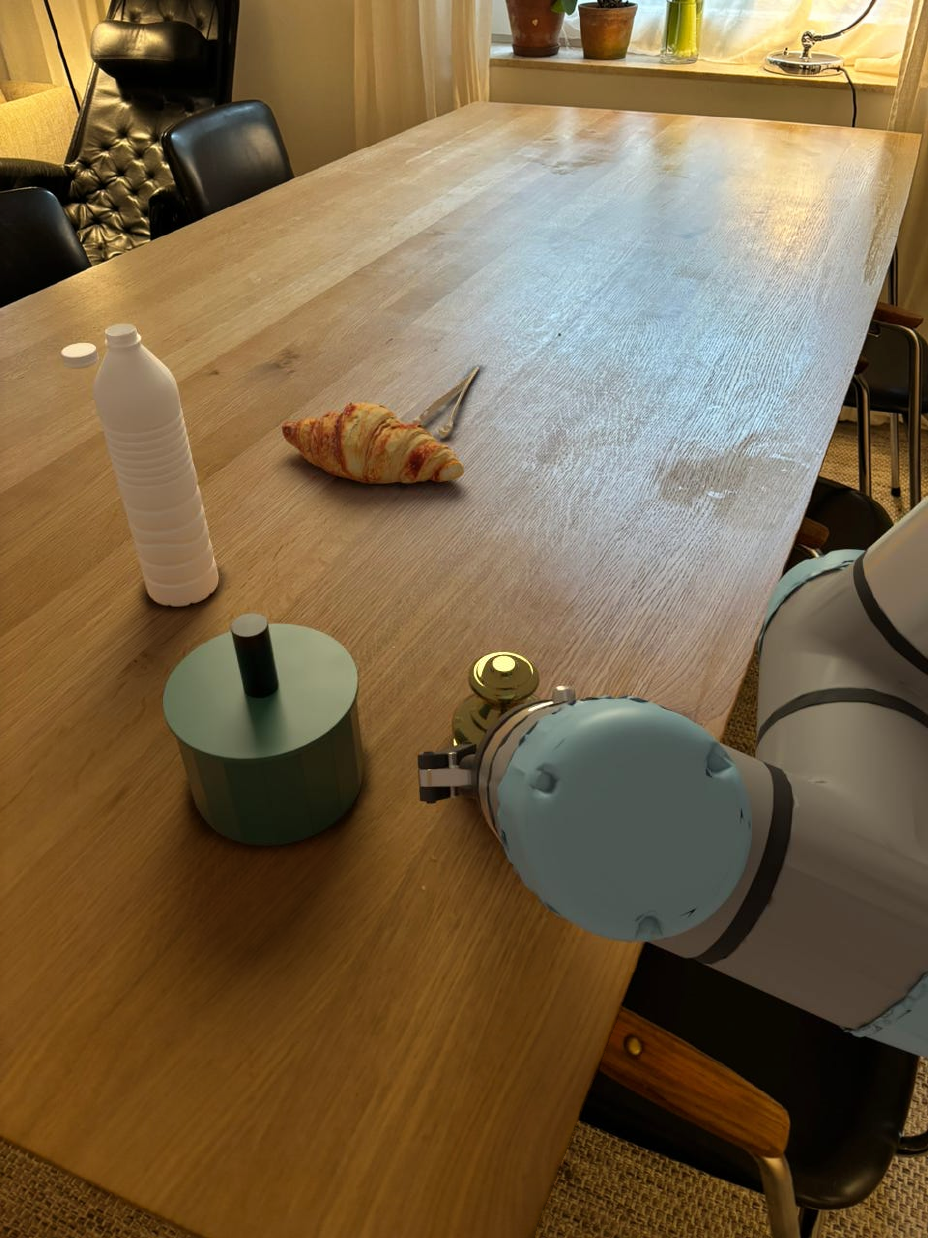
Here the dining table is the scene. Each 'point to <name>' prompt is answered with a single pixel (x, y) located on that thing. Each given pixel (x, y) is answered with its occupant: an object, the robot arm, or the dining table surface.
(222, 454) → the dining table surface
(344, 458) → the croissant
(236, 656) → the pot lid
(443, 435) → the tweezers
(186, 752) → the pot
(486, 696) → the brass calibration weight
